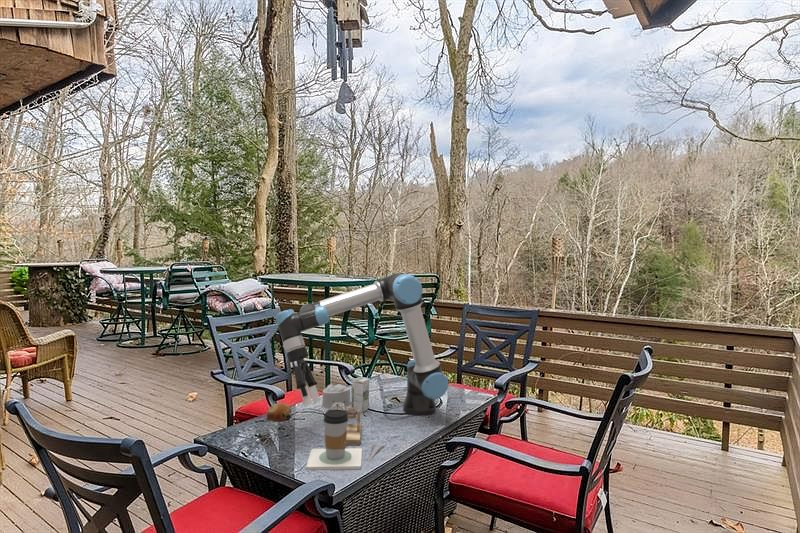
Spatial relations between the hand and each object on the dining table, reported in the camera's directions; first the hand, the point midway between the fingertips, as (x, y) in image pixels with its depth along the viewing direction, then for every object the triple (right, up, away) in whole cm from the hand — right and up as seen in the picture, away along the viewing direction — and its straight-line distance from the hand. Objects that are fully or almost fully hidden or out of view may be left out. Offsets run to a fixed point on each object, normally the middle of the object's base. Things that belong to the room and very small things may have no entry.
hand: (313, 403), depth 172 cm
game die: (+6, -15, +25) cm, 30 cm away
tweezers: (+23, -17, -8) cm, 29 cm away
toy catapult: (+13, -15, +9) cm, 22 cm away
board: (+10, -16, -13) cm, 23 cm away
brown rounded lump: (-20, -14, +27) cm, 37 cm away
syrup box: (+14, -14, +38) cm, 43 cm away
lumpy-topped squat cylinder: (+2, -14, +46) cm, 48 cm away
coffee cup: (+10, -15, -13) cm, 22 cm away
